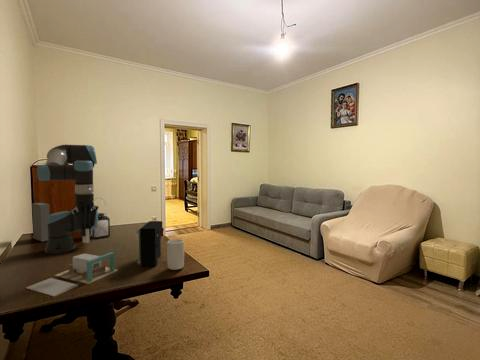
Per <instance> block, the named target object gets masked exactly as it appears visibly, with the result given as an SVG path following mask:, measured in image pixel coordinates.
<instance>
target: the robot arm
mask: <svg viewBox="0 0 480 360" xmlns="http://www.w3.org/2000/svg"><path fill="white" fill-rule="evenodd" d="M46 159H47V160H46V163H43V164H38V166H37V168H36V175H37V179H38V180H39V181H45V182H46V181H47V182H48V181H73V180H74V194H75V195H74V199H75V207H74V208H73V209H70V211H69V210H65V211H64V210H63V211H58V212H54V213H50V215H49V216H48V222H47V224H48V240H47V241H46V242H47V243H46V245H45V249H44V253H45V254H47V255H57V254H58V255H59V254H64V253H69V252H71V251H74V250H75V248H76V244H75V241H74V239H73V236H72V233H75V232H76V233H77V232H80V236H81V237H82V243H83V244H84V243H85V244H88V243H90V236H91V232H90V230H93V229H96V227H97V223H98V213H99V211H98V210H99V208H100V207H99V206H98V205H95V201H94V200H95V196H94V191H95V190H94V168H95V165H97V164H98V160H97V156H96V149H95V147H94V146H93V145H89V144H87V145H86V144H60V145H57V146H54V147H53V148H50V149H49V150H48V151H47V153H46ZM93 202H94V203H93Z"/></svg>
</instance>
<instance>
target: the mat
mask: <svg viewBox="0 0 480 360" xmlns="http://www.w3.org/2000/svg"><path fill="white" fill-rule="evenodd" d="M77 287H79V285H78V284H76V283H72V282H68V281H66V280H65V281H64V280H61V279H57V278H53V277H50V278H47V279H44V280H41V281H39V282H37V283H34V284H31V285H29V286H26V287H25V289H27V290H29V289H30V290H29V291H33V292H37V293H40V294H44V295H46V296H51V297H53V298H55V297H57V296H59V295H61V294H63V293H66V292H68V291H70V290H73V289H75V288H77Z"/></svg>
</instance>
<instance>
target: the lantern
mask: <svg viewBox="0 0 480 360" xmlns="http://www.w3.org/2000/svg"><path fill="white" fill-rule="evenodd" d="M96 199H97V198H94V201H93V203H94V204H95V200H96ZM100 199H101V200H103V198H101V197H100ZM104 203H105V205H107V203H106V202H104ZM110 223H111V222H110V217H108V216H107V215H106V213H103V212H98V223H97V227H96V229H93V230H90V233H91V234H90V237H91V238H92V239H93V240H95V239H99V238H106V237H110V236H111V224H110Z"/></svg>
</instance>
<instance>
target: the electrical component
mask: <svg viewBox="0 0 480 360" xmlns="http://www.w3.org/2000/svg"><path fill="white" fill-rule="evenodd" d="M164 230H165V229H164V227H163V221H161V220H152V221H151V220H149V221H147V222H146V223H144V224H143V225H142V226H141V227H140V228H139V229H137V230H136V234H137V235H138V253H139V255H138V256H139V259H138V260H137V265H139V268H156V267H157V265H158V264H159V260H160V257H161V256H162V254H161V253H162V251H161V249H162V248H161V246H162V245H161V243H162V242H161V240H162V237H164Z"/></svg>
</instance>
